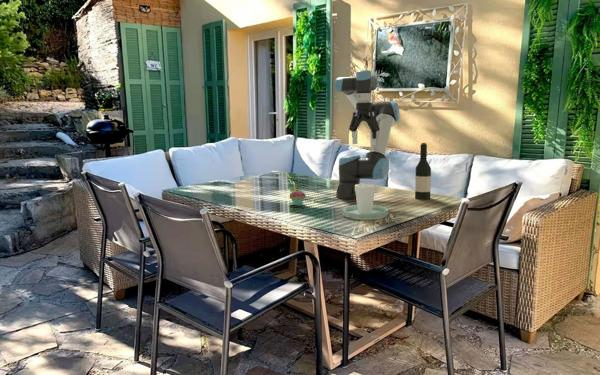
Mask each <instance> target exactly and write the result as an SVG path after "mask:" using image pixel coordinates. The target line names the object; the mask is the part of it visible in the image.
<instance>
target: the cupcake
mask: <svg viewBox="0 0 600 375" xmlns="http://www.w3.org/2000/svg"><path fill="white" fill-rule="evenodd" d="M293 189H294V191H291V193H290V194H289V199H291V201H292V204H293V205H294V206H302V205H303V203H304V200H305V199H306V198H307V196H306V195H307V194H306V193H305V192H304V191H302V190H296V183H295V182H293Z"/></svg>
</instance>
